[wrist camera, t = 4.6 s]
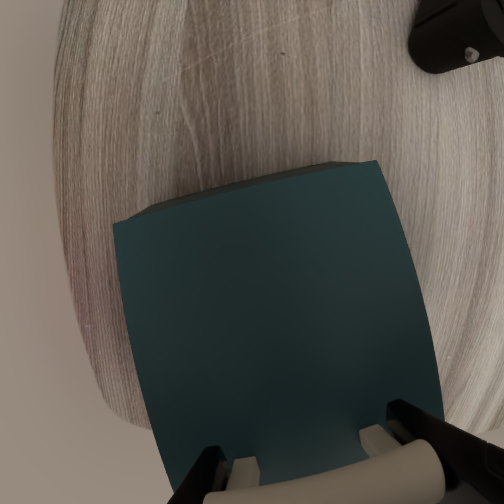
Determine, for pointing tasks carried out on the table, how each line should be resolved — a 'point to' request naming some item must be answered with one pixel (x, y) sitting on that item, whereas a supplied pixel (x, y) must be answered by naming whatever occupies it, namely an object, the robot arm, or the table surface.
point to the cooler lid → (284, 339)
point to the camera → (457, 33)
